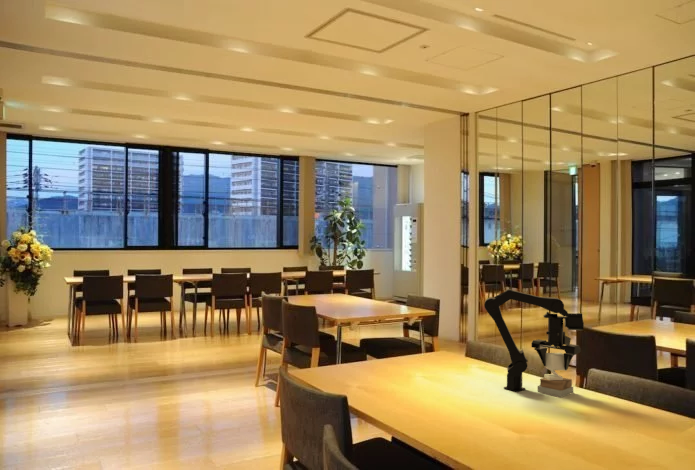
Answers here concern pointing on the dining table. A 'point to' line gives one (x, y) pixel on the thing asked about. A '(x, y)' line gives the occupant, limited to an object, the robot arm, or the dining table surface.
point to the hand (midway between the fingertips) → (555, 367)
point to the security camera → (554, 365)
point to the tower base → (555, 391)
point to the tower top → (556, 383)
